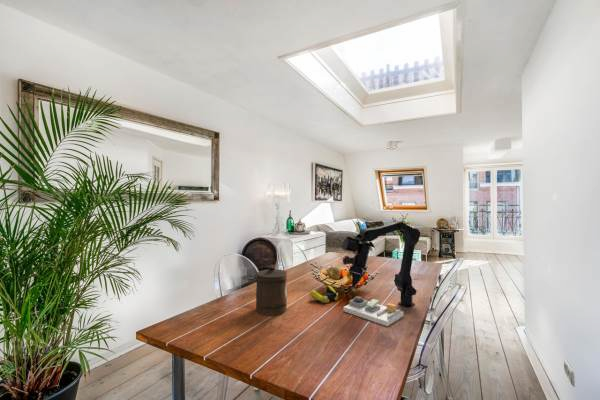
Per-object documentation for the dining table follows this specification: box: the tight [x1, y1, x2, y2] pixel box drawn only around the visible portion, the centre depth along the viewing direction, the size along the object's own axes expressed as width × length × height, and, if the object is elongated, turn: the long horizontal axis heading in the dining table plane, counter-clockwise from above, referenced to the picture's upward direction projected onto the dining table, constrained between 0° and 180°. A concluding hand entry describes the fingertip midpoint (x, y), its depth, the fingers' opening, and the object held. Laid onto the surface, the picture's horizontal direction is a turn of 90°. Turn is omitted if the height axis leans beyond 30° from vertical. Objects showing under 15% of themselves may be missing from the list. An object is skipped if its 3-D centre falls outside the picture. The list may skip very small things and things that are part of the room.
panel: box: [343, 298, 404, 327], centre depth 135 cm, size 15×23×4 cm, turn 45°
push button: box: [353, 295, 364, 303], centre depth 141 cm, size 4×4×2 cm
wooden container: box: [255, 264, 288, 317], centre depth 139 cm, size 15×15×22 cm
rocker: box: [367, 298, 380, 308], centre depth 135 cm, size 6×3×1 cm, turn 134°
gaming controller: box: [310, 285, 339, 304], centre depth 154 cm, size 15×6×10 cm
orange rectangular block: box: [386, 302, 397, 313], centre depth 131 cm, size 2×4×3 cm, turn 45°
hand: (354, 285), depth 139 cm, fingers open, 9 cm apart
